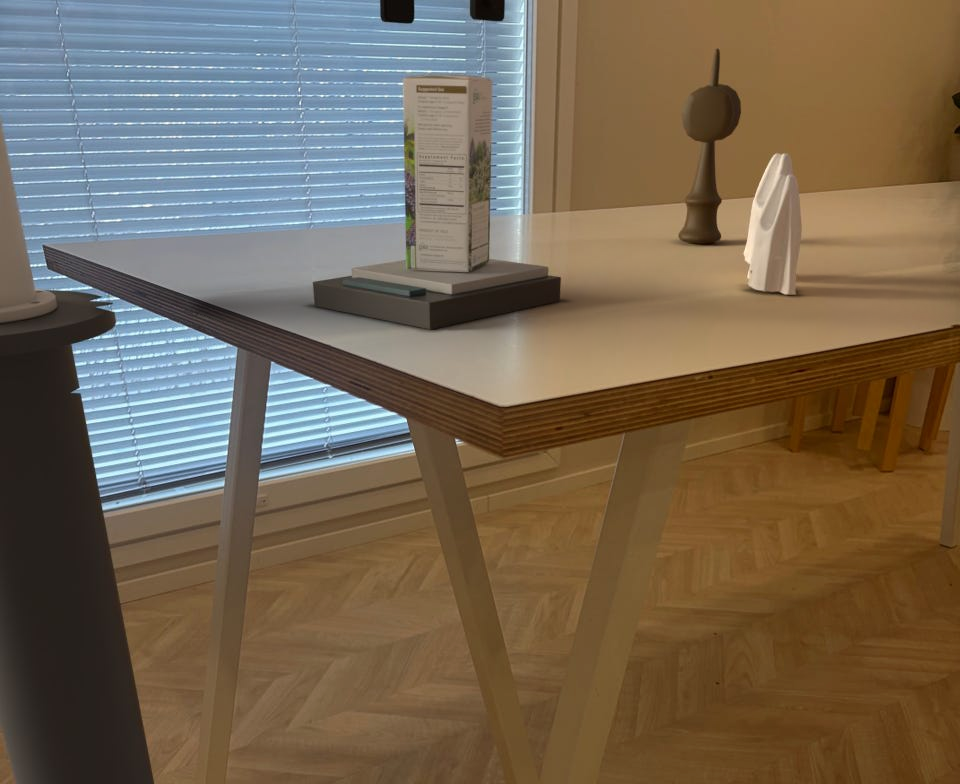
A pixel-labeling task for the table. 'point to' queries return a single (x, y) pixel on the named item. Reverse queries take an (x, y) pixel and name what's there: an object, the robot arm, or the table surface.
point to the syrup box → (447, 171)
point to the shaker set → (775, 229)
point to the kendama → (707, 152)
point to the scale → (437, 292)
